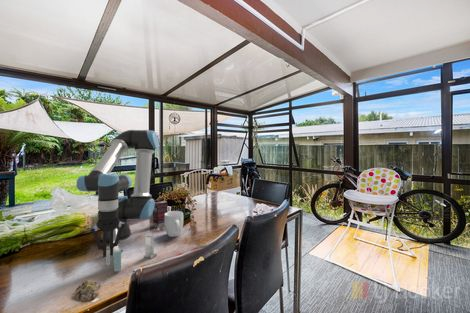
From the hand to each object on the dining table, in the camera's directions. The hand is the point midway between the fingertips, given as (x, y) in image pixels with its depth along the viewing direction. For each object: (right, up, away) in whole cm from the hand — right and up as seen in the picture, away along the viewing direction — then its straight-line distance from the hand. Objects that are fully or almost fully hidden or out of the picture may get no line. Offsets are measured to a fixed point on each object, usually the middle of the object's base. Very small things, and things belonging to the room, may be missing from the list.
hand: (107, 263), depth 89 cm
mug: (+19, -2, +35) cm, 40 cm away
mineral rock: (+2, -3, -16) cm, 16 cm away
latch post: (+14, -2, +10) cm, 17 cm away
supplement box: (+4, -1, +51) cm, 52 cm away
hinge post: (-5, -2, +13) cm, 14 cm away
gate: (+1, -1, +4) cm, 4 cm away
